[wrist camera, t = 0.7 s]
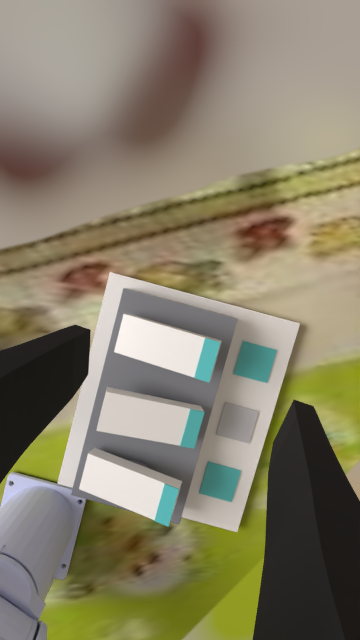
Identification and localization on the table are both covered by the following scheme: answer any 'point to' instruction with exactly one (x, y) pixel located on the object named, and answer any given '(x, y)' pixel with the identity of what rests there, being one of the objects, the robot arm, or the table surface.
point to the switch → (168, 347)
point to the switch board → (224, 392)
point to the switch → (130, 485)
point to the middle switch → (150, 418)
